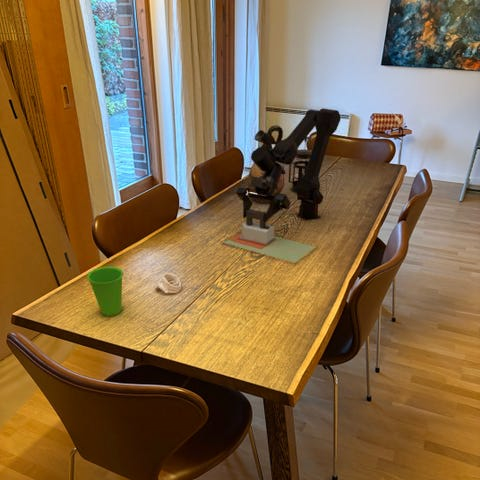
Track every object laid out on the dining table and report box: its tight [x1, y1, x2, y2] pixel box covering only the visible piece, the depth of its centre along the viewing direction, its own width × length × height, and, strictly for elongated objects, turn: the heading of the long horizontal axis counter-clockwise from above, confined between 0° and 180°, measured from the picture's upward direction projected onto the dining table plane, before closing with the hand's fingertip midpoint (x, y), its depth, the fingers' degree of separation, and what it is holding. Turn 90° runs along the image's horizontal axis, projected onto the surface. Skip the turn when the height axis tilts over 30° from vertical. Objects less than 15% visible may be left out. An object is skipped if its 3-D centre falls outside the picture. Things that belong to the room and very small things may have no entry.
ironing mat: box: [223, 232, 317, 264], centre depth 162 cm, size 28×15×1 cm, turn 56°
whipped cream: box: [155, 272, 182, 294], centre depth 135 cm, size 8×7×5 cm
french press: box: [288, 136, 312, 193], centre depth 208 cm, size 12×9×23 cm
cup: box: [86, 266, 124, 317], centre depth 123 cm, size 9×9×11 cm
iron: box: [238, 208, 275, 246], centre depth 162 cm, size 11×6×10 cm, turn 60°
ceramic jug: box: [247, 124, 285, 204], centre depth 195 cm, size 17×15×30 cm
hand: (253, 219), depth 159 cm, fingers open, 7 cm apart
